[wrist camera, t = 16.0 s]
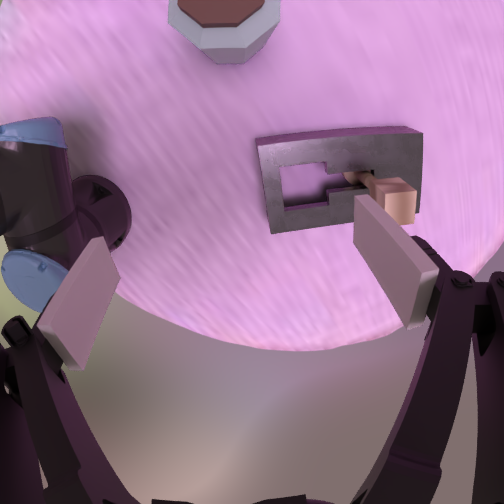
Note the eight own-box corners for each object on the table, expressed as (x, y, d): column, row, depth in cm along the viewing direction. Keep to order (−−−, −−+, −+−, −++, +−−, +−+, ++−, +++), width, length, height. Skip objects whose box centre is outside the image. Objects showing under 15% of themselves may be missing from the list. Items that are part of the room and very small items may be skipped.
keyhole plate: (267, 217, 52) (270, 234, 47) (255, 138, 45) (257, 146, 40) (403, 199, 51) (418, 213, 46) (405, 126, 43) (423, 133, 38)
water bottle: (274, 54, 38) (312, 23, 16) (212, 76, 39) (180, 68, 18) (250, 0, 33) (261, -75, 11) (187, 23, 34) (135, -31, 13)
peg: (341, 183, 49) (381, 229, 35) (340, 155, 46) (383, 192, 32) (368, 180, 49) (415, 224, 34) (367, 153, 46) (418, 188, 32)
